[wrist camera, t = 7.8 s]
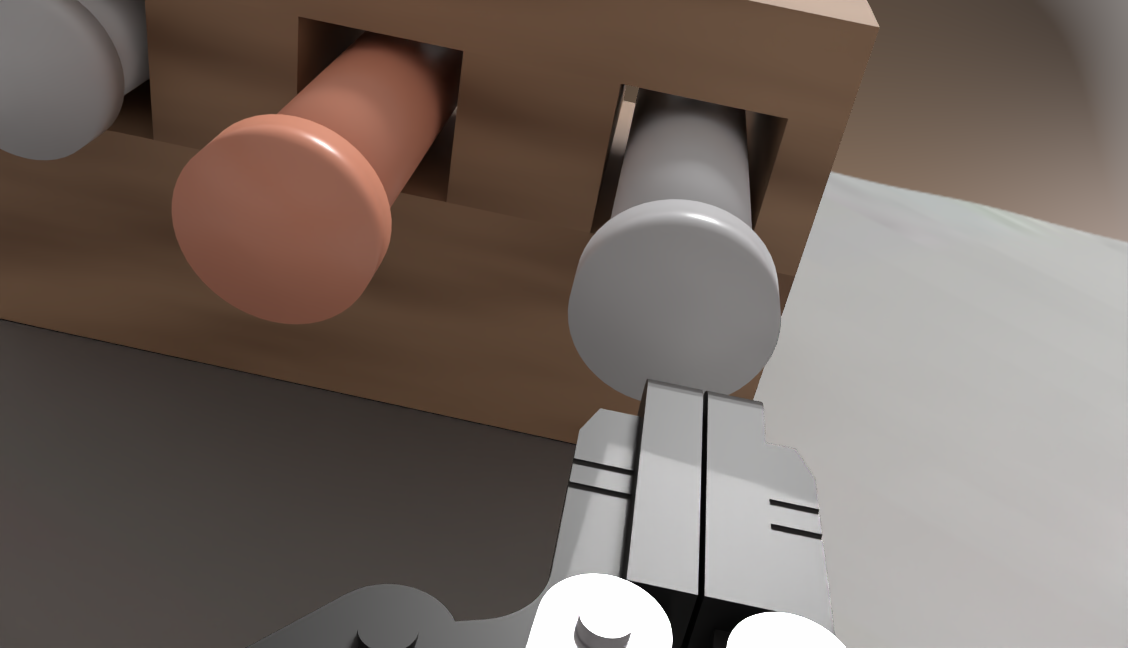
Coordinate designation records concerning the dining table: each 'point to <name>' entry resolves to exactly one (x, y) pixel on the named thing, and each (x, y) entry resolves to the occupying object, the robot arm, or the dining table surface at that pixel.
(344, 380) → the tan block
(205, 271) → the terracotta plug
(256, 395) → the dining table surface
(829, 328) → the dining table surface
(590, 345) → the grey plug
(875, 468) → the dining table surface
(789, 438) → the dining table surface
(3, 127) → the grey plug
